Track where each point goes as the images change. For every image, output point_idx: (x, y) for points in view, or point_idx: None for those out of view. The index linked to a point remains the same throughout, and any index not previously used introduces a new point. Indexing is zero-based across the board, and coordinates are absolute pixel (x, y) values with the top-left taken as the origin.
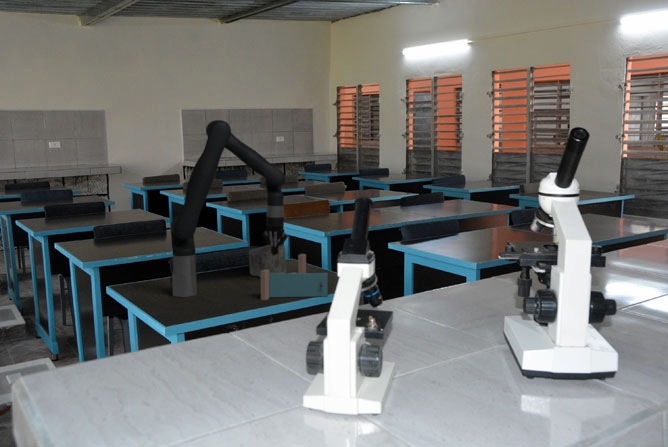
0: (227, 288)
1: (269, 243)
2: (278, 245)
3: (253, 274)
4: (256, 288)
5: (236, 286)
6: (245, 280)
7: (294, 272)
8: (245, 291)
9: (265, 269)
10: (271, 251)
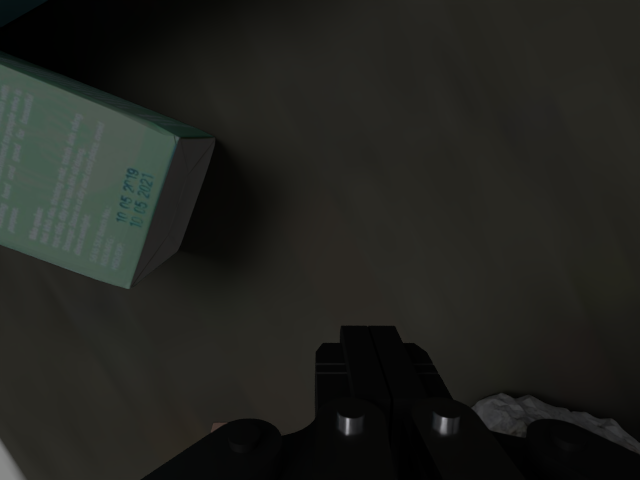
0: (636, 33)
1: (530, 436)
2: (262, 422)
3: (597, 420)
4: (427, 125)
5: (594, 117)
6: (598, 295)
7: (116, 276)
8: (467, 6)
9: (515, 432)
10: (424, 356)
